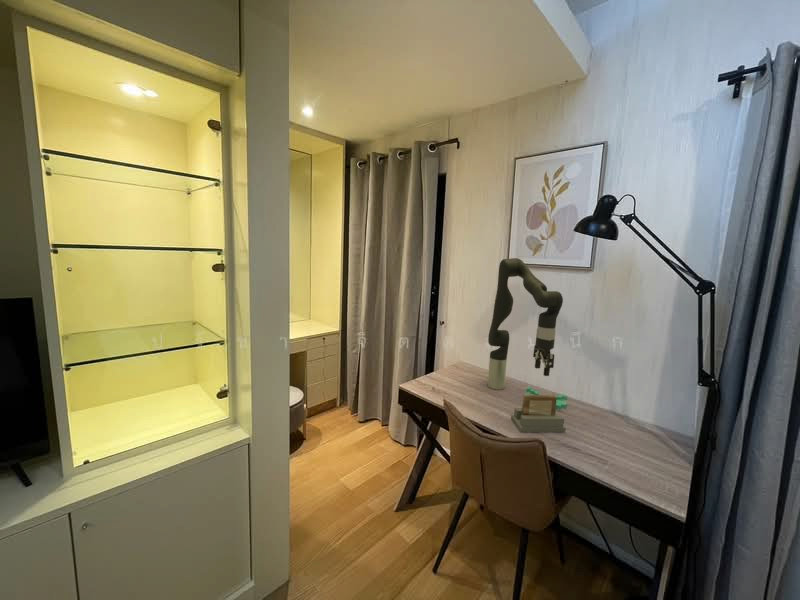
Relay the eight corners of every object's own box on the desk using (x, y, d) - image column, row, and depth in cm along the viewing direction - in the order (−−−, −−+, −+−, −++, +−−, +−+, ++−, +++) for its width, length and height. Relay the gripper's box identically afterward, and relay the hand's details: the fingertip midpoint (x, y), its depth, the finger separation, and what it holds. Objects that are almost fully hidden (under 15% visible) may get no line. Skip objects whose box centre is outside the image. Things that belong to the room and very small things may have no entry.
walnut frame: (521, 419, 153) (523, 394, 151) (551, 419, 154) (553, 395, 152) (523, 422, 151) (525, 397, 149) (554, 422, 151) (557, 397, 149)
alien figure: (527, 390, 191) (521, 405, 173) (527, 387, 190) (522, 401, 173) (566, 399, 181) (565, 415, 164) (566, 395, 181) (565, 410, 164)
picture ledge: (511, 419, 158) (512, 407, 157) (552, 419, 159) (554, 407, 158) (520, 432, 147) (521, 419, 146) (565, 432, 148) (566, 419, 147)
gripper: (530, 332, 154) (526, 365, 157) (544, 341, 140) (540, 378, 143) (546, 332, 154) (542, 366, 157) (562, 341, 140) (558, 378, 143)
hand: (541, 371), depth 150 cm, fingers open, 8 cm apart
